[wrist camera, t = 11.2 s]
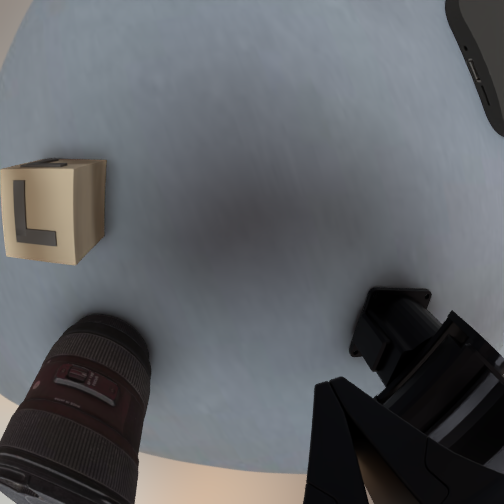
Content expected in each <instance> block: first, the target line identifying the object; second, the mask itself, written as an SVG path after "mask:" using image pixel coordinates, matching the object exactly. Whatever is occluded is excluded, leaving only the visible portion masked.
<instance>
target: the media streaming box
mask: <svg viewBox="0 0 504 504" xmlns="http://www.w3.org/2000/svg"><path fill="white" fill-rule="evenodd" d="M445 8H446V15H447V19H448V22H449V25H450V27H451V29H452V31H453V33H454V36H455V38H456V40H457V42H458V45H459V47H460V49H461V51H462V54H463V56H464V58H465V61H466V63H467V65H468V68H469V70H470V73H471V75H472V78H473V80H474V83H475V85H476V88H477V91H478V93H479V96H480V99H481V101H482V104H483V107H484V110H485V112H486V115H487V118H488V120H489V122H490V124H491V125H492V127H493V128H494V129H495V131H496V132H497V133H498V134H500V135H501V136H503V137H504V0H446V6H445Z"/></svg>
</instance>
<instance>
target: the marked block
mask: <svg viewBox="0 0 504 504" xmlns="http://www.w3.org/2000/svg"><path fill="white" fill-rule="evenodd" d="M106 162H107V160H89V159H42V160H37V161H33V162H28V163H24V164H20V165H16V166H12V167H8V168H4V169H1V206H2V220H3V231H4V240H5V248H6V256H8V257H15V258H22V259H29V260H37V261H44V262H52V263H60V264H68V265H77V264H78V263H79V262H80V261H81V260H82V258H83V257H84V256H85V255H86V254H87V253H88V252H89V251H90V250H91V249H92V248H93V247H94V246H95V245H96V244H97V243H98V242H99V241H100V240H101V239H102V238H103V237H104V236H105V234H104V211H105V179H106Z"/></svg>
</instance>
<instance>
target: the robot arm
mask: <svg viewBox="0 0 504 504" xmlns="http://www.w3.org/2000/svg"><path fill="white" fill-rule="evenodd" d="M375 293H376V295H375V296H373V295H374V294H375ZM431 295H432V294H431V292H430V291H429V290H427V289H402V288H372V289H371V290H370V291H369V293H368V296H367V300H366V303H365V306H364V309H363V312H362V314H361V316H360V319H359V322H358V325H357V327H356V330H355V333H354V336H353V339H352V340H353V341H352V344H351V346H350V349H349V353H350V355H351V356H352V357H363V358H364V359H365V361H366V362H367V364H368V366H369V367H370V369H371V370H372V371H373V372H377V374H378V376H379V377H380V379H381V380H382V382H383V384H384V385H385V387H386V388H385V389H384V390H383V391H382V392H381V393H380V394H379V395H378V396H377V395H376V396H375V397H374V398H372V397H370V396H369V395H368V394H366V393H365V392H363V391H362V390H361V389H359V388H358V387H356V386H355V385H354V384H352V383H351V382H350V381H348V380H347V379H345V378H344V377H338V378H335V379H331V380H330V381H329V382H328V381H325V382H322V383H318V384H316V385H315V388H314V404H313V418H312V430H311V442H310V452H309V462H308V471H307V480H306V483H307V484H306V488H305V495H304V501H303V504H369V502H368V498H367V494H366V490H365V486H366V488H367V490H368V492H369V494H370V496H371V498H372V500H373V502H374V504H504V375H503V374H504V358H503V357H502V356H501V355H500V354H499V353H498V352H497V351H496V350H495V349H494V348H493V347H492V346H491V345H490V344H489V343H488V342H487V341H486V340H485V339H484V338H483V337H482V336H481V335H479V334H478V333H477V332H476V331H475V330H474V329H473V328H472V327H471V326H469V325H468V324H467V323H466V322H465V321H464V320H463V319H461V318H460V317H459V316H458V315H457V314H456V313H455V312H453V311H451V312H450V314H449V315H448V318H447V319H446V321H445V322H444V323H443V324H441V323H440V322H439V321H438V320H437V319H436V318H435V317H434V316H433V315H432V314H431V313H430V312H429V311H428V310H427V306H428V304H429V301H430V298H431ZM354 351H355V352H354ZM364 484H365V486H364Z"/></svg>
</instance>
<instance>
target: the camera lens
mask: <svg viewBox="0 0 504 504" xmlns="http://www.w3.org/2000/svg"><path fill="white" fill-rule="evenodd" d="M150 379H151V366H150V362H149V353H148V349H147V346H146V344H145V342H144V340H143V338H142V337H141V336H140V335H139V333H138V332H137V331H136V330H135V329H134V328H133V327H131V326H130V325H129V324H127V323H125V322H124V321H122V320H120V319H117V318H115V317H112V316H107V315H91V316H87V317H85V318H83V319H81V320H80V321H79V322H78V323H77V324H75V325H73V326H71V327H70V328H68V329H67V330H66V331H65V332H64V333H63V335H62V336H61V337H60V338H59V339H58V341H57V342H56V343H55V344H54V345H53V347H52V348H51V350H50V352H49V353H48V355H47V357H46V358H45V360H44V362H43V364H42V367H41V369H40V371H39V373H38V374H37V376H36V378H35V380H34V382H33V384H32V386H31V388H30V390H29V392H28V394H27V396H26V398H25V399H24V401H23V402H22V403H21V404H20V406H19V407H18V409H17V410H16V412H15V413H14V415H13V416H12V417H11V419H10V422H9V424H8V426H7V428H6V430H5V432H4V434H3V436H2V438H1V441H0V491H1V492H2V493H4V494H5V495H6V496H7V497H9V498H10V499H11V500H13V501H14V502H15V503H17V504H134V503H135V496H136V487H137V480H138V465H139V459H138V452H139V446H140V440H141V434H142V428H143V422H144V418H145V414H146V410H147V405H148V400H149V395H150Z"/></svg>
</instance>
